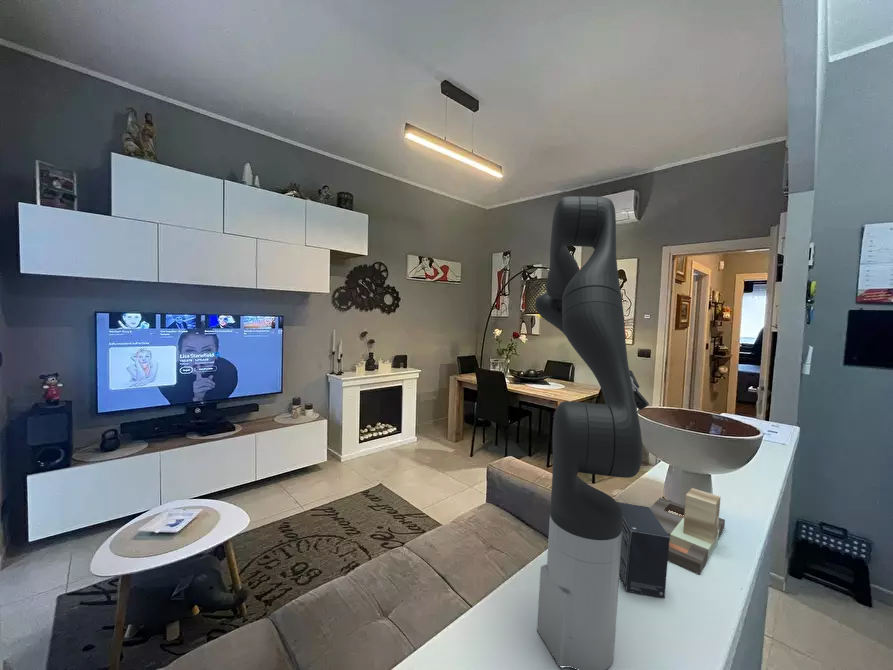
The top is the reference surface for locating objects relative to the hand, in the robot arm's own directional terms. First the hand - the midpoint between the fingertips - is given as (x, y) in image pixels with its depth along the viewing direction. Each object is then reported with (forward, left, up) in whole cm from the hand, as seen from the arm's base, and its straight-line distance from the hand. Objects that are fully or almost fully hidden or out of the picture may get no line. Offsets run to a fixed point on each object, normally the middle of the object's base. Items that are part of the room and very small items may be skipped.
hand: (644, 407), depth 83 cm
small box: (-14, -16, -26) cm, 34 cm away
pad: (+5, -10, -26) cm, 28 cm away
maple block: (+6, -10, -24) cm, 27 cm away
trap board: (+4, -7, -26) cm, 27 cm away
